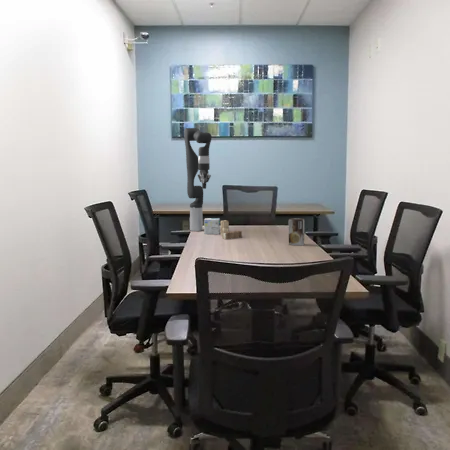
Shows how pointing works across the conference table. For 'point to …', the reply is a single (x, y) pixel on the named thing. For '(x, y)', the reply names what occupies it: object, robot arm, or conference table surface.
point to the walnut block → (231, 234)
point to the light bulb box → (211, 225)
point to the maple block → (224, 226)
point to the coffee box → (296, 231)
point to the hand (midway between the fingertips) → (204, 188)
